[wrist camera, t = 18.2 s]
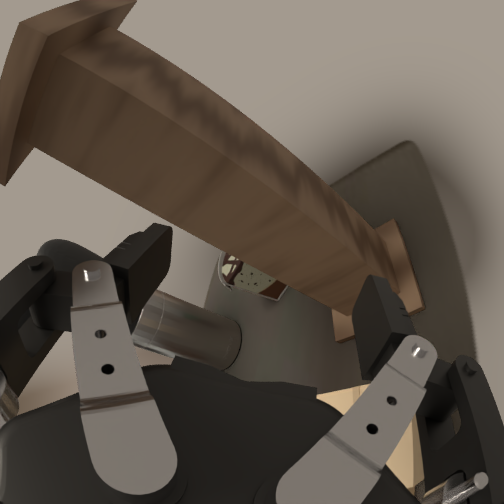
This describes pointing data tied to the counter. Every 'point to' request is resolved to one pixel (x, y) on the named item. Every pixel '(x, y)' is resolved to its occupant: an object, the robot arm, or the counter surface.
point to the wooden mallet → (406, 452)
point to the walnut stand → (187, 157)
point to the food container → (248, 278)
